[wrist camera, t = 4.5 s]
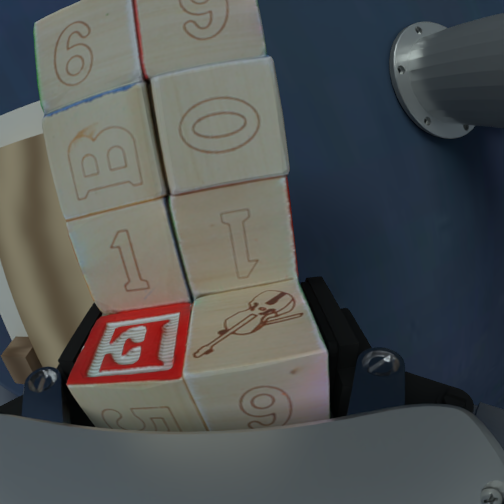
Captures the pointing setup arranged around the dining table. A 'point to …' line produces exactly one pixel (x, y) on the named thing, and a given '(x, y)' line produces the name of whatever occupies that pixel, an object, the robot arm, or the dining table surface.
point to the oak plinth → (39, 251)
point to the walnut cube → (21, 359)
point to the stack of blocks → (179, 216)
